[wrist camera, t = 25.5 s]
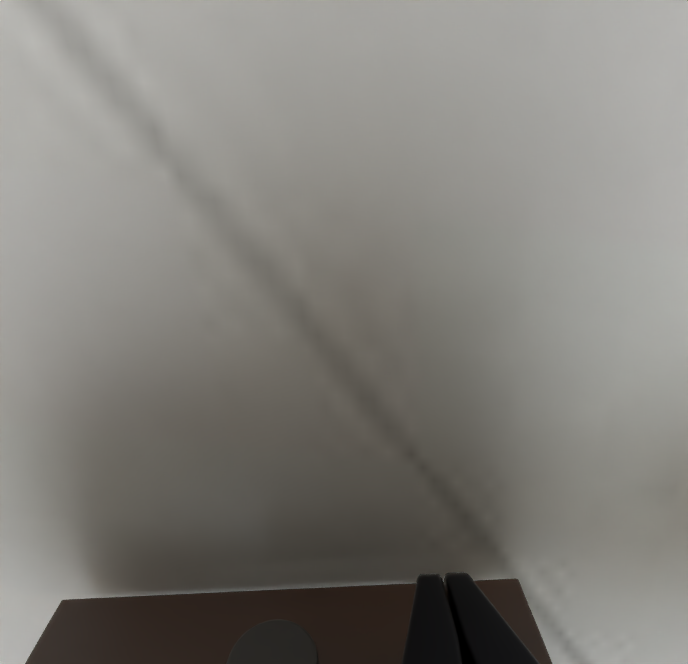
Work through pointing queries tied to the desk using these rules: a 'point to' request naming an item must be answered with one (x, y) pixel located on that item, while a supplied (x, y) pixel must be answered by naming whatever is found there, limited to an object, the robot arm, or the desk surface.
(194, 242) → the desk surface
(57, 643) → the drawer
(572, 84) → the desk surface
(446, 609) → the robot arm
